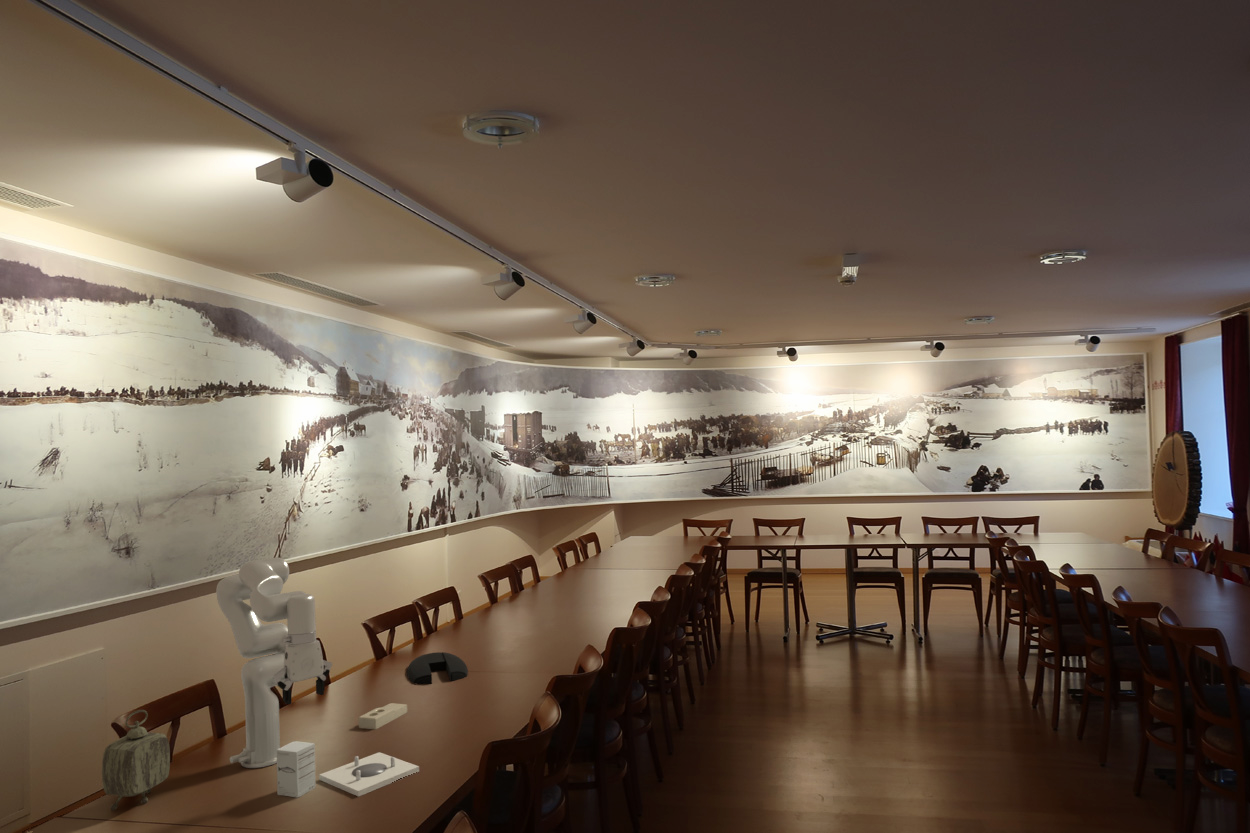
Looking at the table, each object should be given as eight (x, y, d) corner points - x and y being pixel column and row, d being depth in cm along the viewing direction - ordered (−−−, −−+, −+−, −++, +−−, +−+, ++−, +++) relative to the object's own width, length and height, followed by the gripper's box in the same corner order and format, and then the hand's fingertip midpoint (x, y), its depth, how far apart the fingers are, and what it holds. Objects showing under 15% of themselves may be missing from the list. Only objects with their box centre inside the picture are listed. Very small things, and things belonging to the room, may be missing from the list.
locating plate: (358, 796, 218) (358, 781, 218) (319, 779, 230) (319, 765, 230) (419, 771, 233) (418, 757, 233) (379, 757, 246) (379, 743, 246)
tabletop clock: (148, 790, 228) (147, 701, 229) (173, 792, 225) (172, 703, 226) (102, 812, 214) (101, 718, 215) (128, 816, 211) (127, 720, 212)
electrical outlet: (407, 701, 288) (375, 718, 271) (407, 713, 288) (375, 730, 271) (390, 700, 291) (358, 717, 274) (390, 711, 290) (358, 728, 274)
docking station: (460, 656, 366) (460, 645, 366) (472, 679, 327) (471, 667, 328) (404, 663, 358) (404, 652, 358) (409, 688, 320) (409, 675, 320)
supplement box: (276, 795, 221) (275, 749, 221) (296, 784, 228) (295, 739, 228) (297, 798, 218) (296, 752, 219) (316, 787, 225) (315, 742, 225)
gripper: (278, 646, 220) (280, 709, 219) (336, 633, 233) (338, 693, 232) (266, 643, 225) (268, 704, 224) (323, 631, 238) (325, 689, 237)
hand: (304, 698), depth 228 cm, fingers open, 9 cm apart
